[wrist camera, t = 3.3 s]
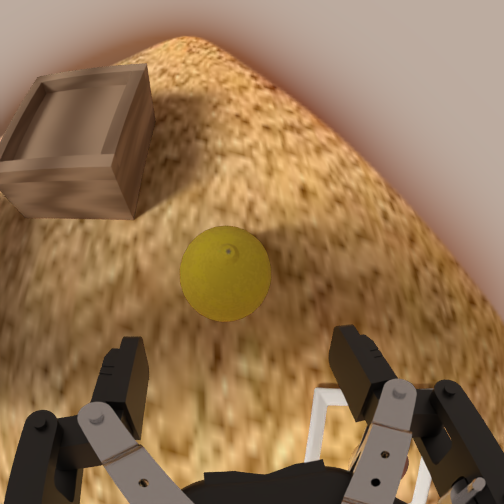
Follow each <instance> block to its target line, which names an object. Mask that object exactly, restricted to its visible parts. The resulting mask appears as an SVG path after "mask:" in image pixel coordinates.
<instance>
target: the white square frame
mask: <svg viewBox="0 0 504 504" xmlns="http://www.w3.org/2000/svg"><path fill="white" fill-rule="evenodd" d="M431 389H433V388H431ZM329 405H339V406H348V404H347V402H346V400H345V397H344V395H343V393H342V391H341V389H337V388H318V387H317V388H315V389H314V397H313V405H312V413H311V420H310V428H309V435H308V441H307V448H306V454H305V460H304V463H305V462H310V461H316V460H319V458H320V452H321V445H322V439H323V432H324V425H325V418H326V411H327V407H328V406H329ZM358 446H359V445H358ZM358 446H357V447H356V448H355V450H354V451H353V453H352V455H351V457H350V460H349V466H348V468H349V467H350V465H351V463H352V461H353V458H354V456H355V454H356V451H357V449H358ZM408 465H409V460H408V456H407V458H406V462H405V466H404V469H403V473H402V476H401V479H402V478H403V476H404V475H405V473H406V471H407V469H408ZM431 479H432V478H431V476H430V474H429V471H428V469H427V467H426V465H425V463H424V460H423V458H422V456H421V462H420V467H419V472H418V477H417V482H416V487H415V491H414V496H413V500H412V502H411V503H409V504H426V501H427V497H428V493H429V488H430V484H431Z"/></svg>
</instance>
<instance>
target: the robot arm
mask: <svg viewBox="0 0 504 504" xmlns="http://www.w3.org/2000/svg"><path fill="white" fill-rule="evenodd" d="M329 364H330V367H331V369H332V372H333V374H334V376H335V378H336V380H337V382H338V384H339V387H340V389H341V391H342V393H343V395H344V397H345V400H346V402H347V404H348V406H349V408H350V410H351V413H352V415H353V417H354V419H355V421H356V422H359V421H363V420H365V421H366V423H367V426H366V428H365V431H364V433H363V436H362V439H361V441H360V444H359V446H358V449H357V451H356V454H355V456H354V458H353V461H352V463H351V465H350V467H349V469H348V471H347V470H344V469H341V468H336V467H329V466H325V465H324V462H323V459H321V460H316V461H310V462H305V463H299V464H294V465H291V466H289V467H286V468H283V469H281V470H278V471H275V472H272V473H270V474H265V475H264V474H253V473H245V472H237V471H227V472H204V480H201V481H198V482H195V483H192V484H190V485H188V486H186V487H184V488H183V489H181V490H180V488H179V487H178V486H177V485H176V484H175V483H174V482H173V481H172V480H171V479H170V478H169V476H168V475H167V474H166V473H165V472H164V471H163V470H162V469H161V467H160V466H159V465H158V464H157V463H156V462H155V460H154V459H153V458H152V457H151V456H150V454H149V453H148V452H147V451H146V449H145V448H144V447H143V446H142V445H139V444H138V443H137V442H136V441H135V440H141V433H142V424H143V416H144V409H145V401H146V394H147V387H148V380H149V366H148V361H147V357H146V353H145V348H144V344H143V339H142V337H123V339H122V342H121V345H120V349H114V348H112V349H111V350H110V351H109V352H108V354H107V355H106V356H105V357H104V360H103V363H102V368H101V370H100V373H99V374H100V375H99V376H98V379H97V383H96V386H95V389H94V392H93V396H92V399H91V402H90V403H89V404H87V405H85V406H84V407H82V408H81V410H80V411H79V413H78V415H75V416H70V417H64V418H56V416H55V415H54V414H53V413H52V412H50V411H47V410H39V411H35V412H33V413H32V414H31V415H29V416H28V418H27V419H26V421H25V424H24V427H23V431H22V434H21V437H20V440H19V444H18V447H17V451H16V454H15V458H14V462H13V465H12V469H11V473H10V478H9V482H8V486H7V491H6V496H5V500H4V504H80V495H81V485H82V476H83V468H88V467H94V466H100V465H103V466H104V467H105V469H106V470H107V472H108V473H109V475H110V476H111V478H112V479H113V481H114V482H115V484H116V485H117V487H118V488H119V489H120V491H121V492H122V494H123V495H124V496H125V498H126V499H127V500H128V502H129V503H130V504H407V503H405V502H403V501H401V500H400V499H398V498H396V497H395V496H396V493H397V490H398V486H399V483H400V480H401V476H402V473H403V469H404V466H405V462H406V458H407V455H408V451H409V447H410V442H411V438H413V439H414V441H415V443H416V445H417V448H418V450H419V452H420V454H421V456H422V458H423V460H424V463H425V465H426V467H427V469H428V471H429V474H430V476H431V478H432V480H433V482H434V485H435V487H436V489H437V491H438V494H439V496H440V499H439V501H438V503H437V504H504V453H503V451H502V449H501V448H500V446H499V444H498V443H497V441H496V439H495V438H494V436H493V435H492V433H491V431H490V430H489V428H488V427H487V425H486V423H485V422H484V420H483V419H482V417H481V416H480V414H479V413H478V411H477V410H476V408H475V407H474V405H473V404H472V402H471V401H470V399H469V398H468V396H467V395H466V393H465V392H464V390H463V389H462V388H461V386H460V385H459V384H457V383H456V382H454V381H451V380H441V381H439V382H437V383H436V385H435V386H434V388H433V389H415V387H414V386H413V385H412V384H411V383H410V382H408V381H406V380H403V379H398V378H397V376H396V375H395V373H394V372H393V370H392V369H391V367H390V365H389V364H388V362H387V361H386V359H385V358H384V357H383V355H382V353H381V352H380V350H378V347H377V346H376V344H375V343H374V341H373V340H371V339H370V338H368V337H367V336H366V335H364V334H363V335H360V334H359V333H358V331H357V330H356V328H355V327H354V325H343V326H336V327H335V328H334V331H333V336H332V341H331V346H330V350H329ZM444 427H445V428H446V430H447V432H448V434H449V435H448V434H447V432H446V430H445V428H444ZM449 436H450V437H451V439H450V437H449ZM451 440H452V441H451Z"/></svg>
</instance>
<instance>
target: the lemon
mask: <svg viewBox="0 0 504 504" xmlns="http://www.w3.org/2000/svg"><path fill="white" fill-rule="evenodd" d="M270 282H271V265H270V262H269V258H268V254H267V252H266V251H265V249H264V247H263V245H262V244H261V243H260V242H259V241H258V239H257V238H256V237H255V236H253V235H252V234H250V233H249V232H247V231H246V230H243V229H240V228H238V227H233V226H219V227H214V228H211V229H208V230H206V231H204V232H203V233H201V234H200V235H198V236H197V237H196V238H195V239H194V240H193V241H192V242H191V243H190V244H189V246H188V248H187V249H186V251H185V253H184V255H183V258H182V262H181V266H180V284H181V287H182V290H183V294H184V296H185V298H186V299H187V301H188V302H189V304H190V305H191V306H192V307H193V308H194V309H195V310H196V311H197V312H198V313H199V314H201V315H203V316H205V317H207V318H208V319H211V320H216V321H220V322H228V321H235V320H239V319H242V318H244V317H246V316H248V315H249V314H251V313H253V312H254V311H255V310H256V309H257V308H258V307H259V306H260V305H261V303H262V302H263V300H264V298H265V297H266V295H267V293H268V290H269V286H270Z"/></svg>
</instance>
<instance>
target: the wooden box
mask: <svg viewBox="0 0 504 504" xmlns="http://www.w3.org/2000/svg"><path fill="white" fill-rule="evenodd" d="M155 122H156V121H155V115H154V109H153V102H152V96H151V89H150V82H149V75H148V68H147V64H130V65H117V66H107V67H97V68H90V69H82V70H75V71H68V72H62V73H56V74H51V75H46V76H40V77H37V79H36V81H35V82H34V84H33V85H32V87H31V88H30V90H29V91H28V93H27V95H26V96H25V98H24V100H23V101H22V103H21V105H20V106H19V108H18V110H17V112H16V113H15V115H14V117H13V119H12V121H11V123H10V124H9V126H8V128H7V130H6V132H5V134H4V136H3V138H2V140H1V142H0V191H1V192H2V193H3V194H4V195H5V197H6V198H7V199H8V200H9V201H10V202H11V203H12V204H13V205H14V206H15V207H16V208H17V210H18V211H19V212H20V213H21V214H22V215H23V216H24V217H25V218H66V219H114V220H134V216H135V211H136V205H137V200H138V195H139V190H140V185H141V180H142V176H143V171H144V167H145V162H146V158H147V154H148V149H149V145H150V141H151V137H152V133H153V129H154V125H155Z"/></svg>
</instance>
